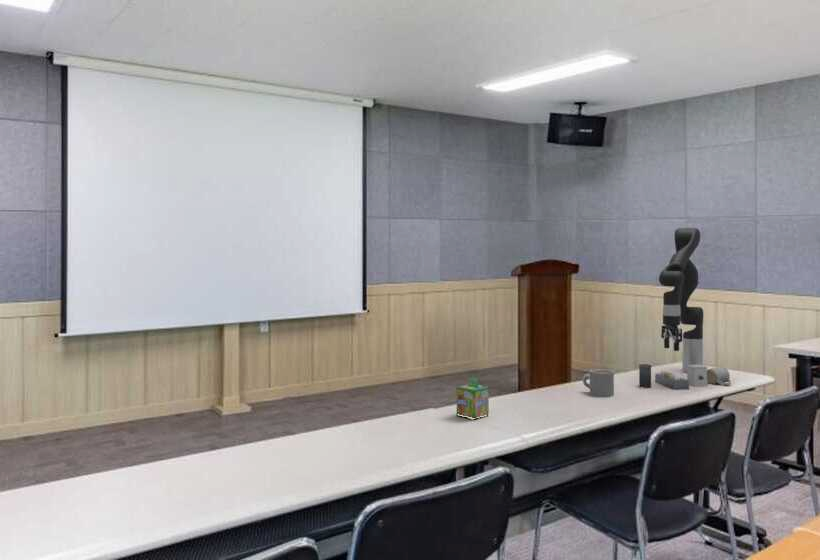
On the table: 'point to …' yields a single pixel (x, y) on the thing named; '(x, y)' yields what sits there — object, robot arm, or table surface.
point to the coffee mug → (600, 383)
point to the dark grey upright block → (645, 375)
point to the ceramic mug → (718, 375)
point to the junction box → (697, 375)
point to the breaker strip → (671, 380)
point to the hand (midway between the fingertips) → (671, 349)
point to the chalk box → (473, 399)
